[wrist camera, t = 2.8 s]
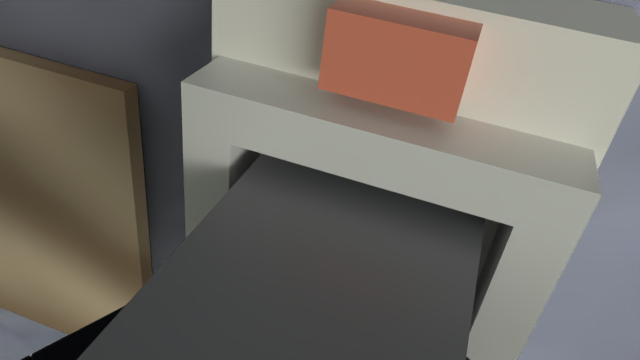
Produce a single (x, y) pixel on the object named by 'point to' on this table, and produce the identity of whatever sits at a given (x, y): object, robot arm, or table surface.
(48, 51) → the table surface
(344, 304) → the block
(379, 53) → the power strip
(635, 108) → the table surface
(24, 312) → the cork pad
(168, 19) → the table surface
